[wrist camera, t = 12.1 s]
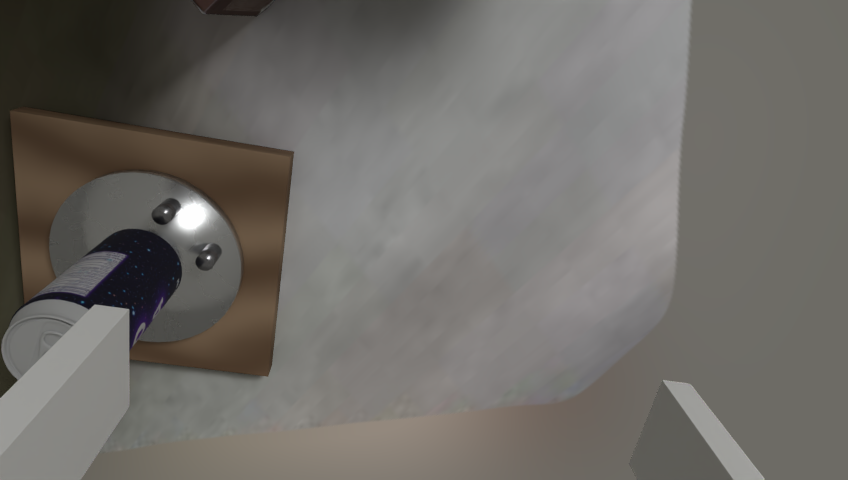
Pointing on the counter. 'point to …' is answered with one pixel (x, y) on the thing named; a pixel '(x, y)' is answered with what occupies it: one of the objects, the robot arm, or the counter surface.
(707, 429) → the robot arm
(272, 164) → the base plate
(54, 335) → the beverage can
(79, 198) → the flange
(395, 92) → the counter surface
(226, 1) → the box
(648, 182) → the counter surface
